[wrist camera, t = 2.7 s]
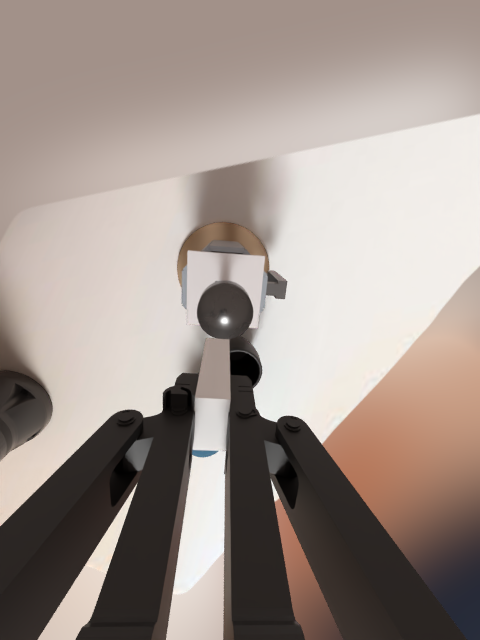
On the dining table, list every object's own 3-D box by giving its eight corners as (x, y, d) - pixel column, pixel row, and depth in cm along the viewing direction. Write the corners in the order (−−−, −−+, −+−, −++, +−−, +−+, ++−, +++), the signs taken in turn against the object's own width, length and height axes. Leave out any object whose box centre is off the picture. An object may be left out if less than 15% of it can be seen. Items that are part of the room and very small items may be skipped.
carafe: (193, 297, 50) (180, 329, 34) (194, 238, 47) (181, 243, 31) (266, 301, 51) (286, 335, 35) (272, 244, 48) (297, 252, 32)
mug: (188, 345, 53) (181, 369, 44) (246, 321, 53) (251, 341, 44) (206, 380, 56) (203, 409, 47) (261, 357, 55) (269, 383, 46)
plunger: (193, 312, 37) (181, 350, 26) (195, 254, 35) (182, 267, 23) (250, 315, 38) (263, 354, 26) (256, 258, 35) (272, 273, 24)
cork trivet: (177, 311, 51) (176, 312, 51) (178, 218, 46) (177, 218, 46) (263, 315, 52) (264, 316, 52) (273, 226, 48) (274, 226, 47)
